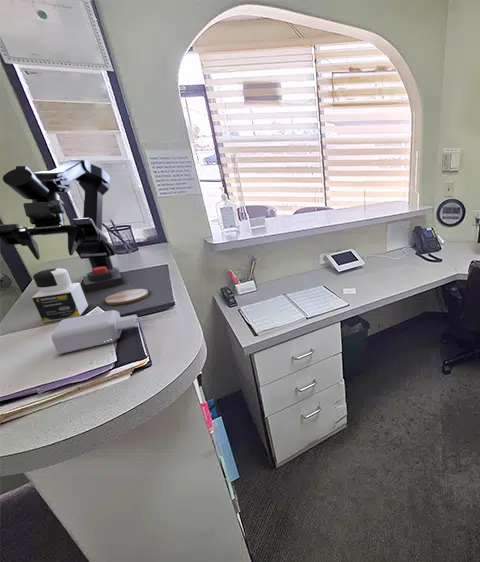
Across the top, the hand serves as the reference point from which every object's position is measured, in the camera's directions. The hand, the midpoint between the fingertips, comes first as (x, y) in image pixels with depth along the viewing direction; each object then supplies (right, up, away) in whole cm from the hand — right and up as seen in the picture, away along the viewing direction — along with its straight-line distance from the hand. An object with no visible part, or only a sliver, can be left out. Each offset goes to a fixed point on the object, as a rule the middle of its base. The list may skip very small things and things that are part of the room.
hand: (54, 256), depth 82 cm
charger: (+25, -19, -12) cm, 34 cm away
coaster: (+13, -11, +8) cm, 19 cm away
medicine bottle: (+5, -15, -2) cm, 16 cm away
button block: (-3, -7, +19) cm, 21 cm away
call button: (-3, -4, +18) cm, 18 cm away
